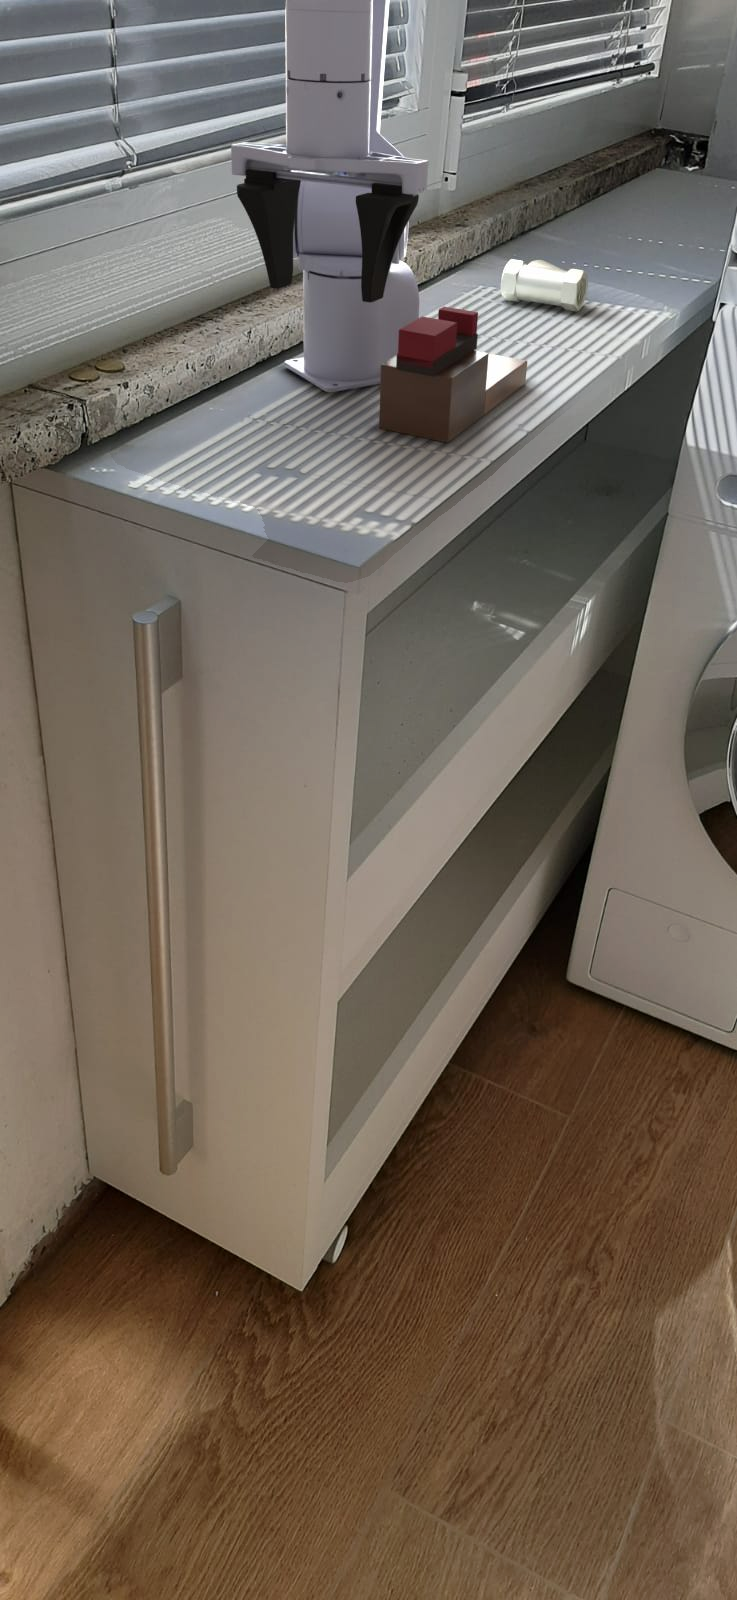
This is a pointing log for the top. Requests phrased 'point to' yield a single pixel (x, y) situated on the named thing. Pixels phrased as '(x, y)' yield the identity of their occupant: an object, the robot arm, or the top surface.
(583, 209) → the top surface
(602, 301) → the top surface
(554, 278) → the pipe fitting
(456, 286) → the top surface
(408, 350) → the red blocks on slab
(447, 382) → the copper l-shaped step block
